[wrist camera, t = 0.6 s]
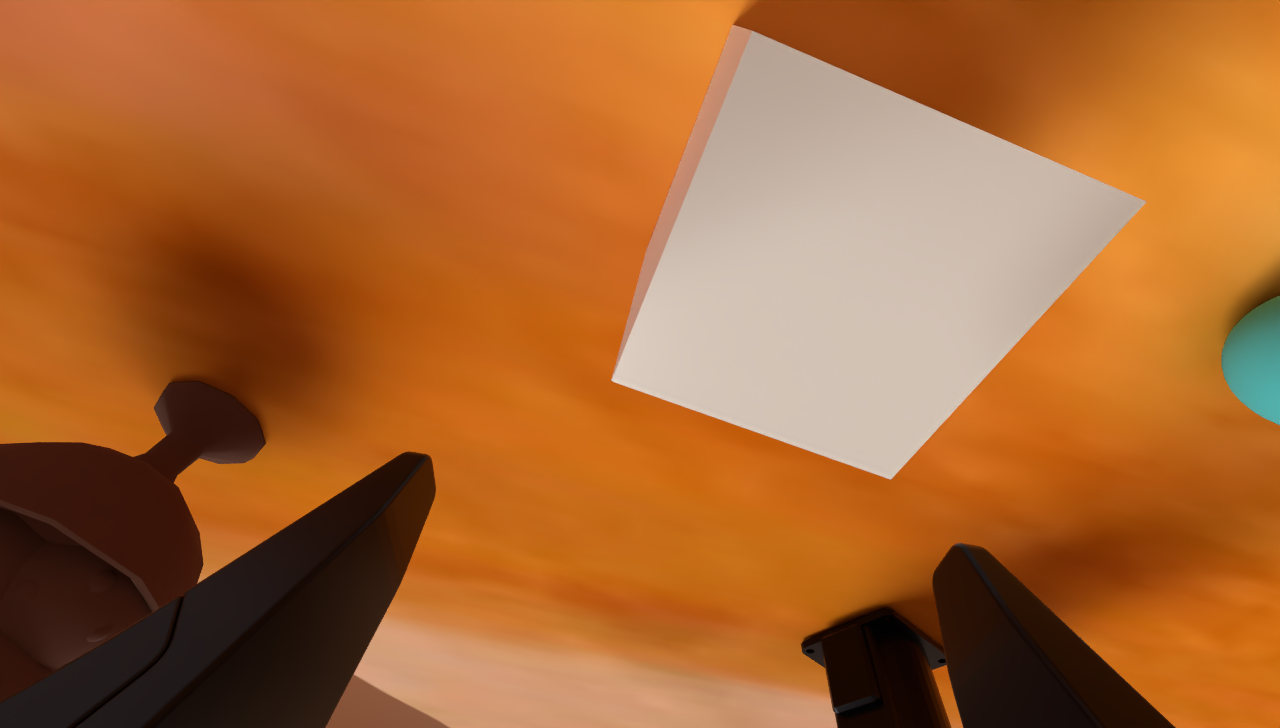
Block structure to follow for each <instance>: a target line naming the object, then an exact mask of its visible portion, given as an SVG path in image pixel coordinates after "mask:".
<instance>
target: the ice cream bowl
mask: <svg viewBox="0 0 1280 728" xmlns="http://www.w3.org/2000/svg"><path fill="white" fill-rule="evenodd" d="M154 410H155V412H156V414H157V416H158V418H159V421H160V423H161V425H162V427H163V429H164V431H165V433H166V435H167V436H166V437H165V438H163V439H162V440H161V441H160V442H159V443H157V444H156V445H155V446H154V447H153V448H151V449H150V450H149V451H148V452H146V453H145V454H141V455H138V456H135V457H131V456H128V455H126V454H123V453H121V452H118V451H116V450H113V449H110V448H106V447H101V446H96V445H91V444H86V443H72V442H36V443H13V444H0V701H1V700H3V699H5V698H7V697H9V696H10V695H12V694H14V693H16V692H18V691H19V690H21V689H23V688H25V687H27V686H28V685H30V684H32V683H34V682H35V681H37V680H39V679H41V678H43V677H44V676H46V675H48V674H50V673H51V672H53V671H55V670H57V669H58V668H60V667H62V666H64V665H65V664H67V663H69V662H71V661H72V660H74V659H76V658H77V657H79V656H81V655H83V654H84V653H86V652H88V651H90V650H91V649H93V648H95V647H97V646H98V645H100V644H102V643H103V642H105V641H107V640H108V639H110V638H111V637H113V636H115V635H116V634H118V633H120V632H121V631H123V630H124V629H126V628H128V627H129V626H131V625H133V624H134V623H136V622H138V621H139V620H141V619H142V618H144V617H146V616H147V615H149V614H150V613H152V612H154V611H155V610H157V609H158V608H160V607H161V606H163V605H165V604H166V603H168V602H169V601H171V600H172V599H174V598H176V597H177V596H180V595H182V596H184V593H185V592H186V591H187V590H188V589H190V588H192V587H193V586H195V585H196V584H197V582H198V579H199V576H200V573H201V570H202V567H203V557H202V549H201V541H200V533H199V531H198V529H197V526H196V524H195V522H194V520H193V517H192V515H191V513H190V511H189V509H188V506H187V504H186V502H185V500H184V498H183V496H182V494H181V492H180V490H179V487H177V486H176V485H175V484H174V481H175V479H176V477H177V475H178V474H180V473H181V472H182V471H183V470H185V469H186V468H187V467H188V466H190V465H191V464H192V463H193V462H194V461H196V460H197V459H198V458H201V459H204V460H208V461H211V462H214V463H218V464H231V463H245V462H247V461H249V460H251V459H253V458H254V457H255V456H256V455H257V453H258V452H259V451H260V450H261V449H262V447H263V446H264V445H265V441H264V437H263V434H262V431H261V428H260V425H259V422H258V420H257V419H256V418H255V417H254V416H253V415H252V414H251V413H250V412H249V411H248V410H247V409H246V408H245V407H244V406H243V405H242V404H240V403H239V402H238V401H237V400H236V399H235V398H234V397H233V396H232V395H229V394H227V393H225V392H222V391H220V390H218V389H215V388H213V387H211V386H208V385H206V384H203V383H201V382H199V381H191V382H176V383H169V384H168V386H167V387H166V388H165V390H164V391H163V393H162V394H161V396H160V398H159V399H158V401H157V403H156V405H155V406H154Z"/></svg>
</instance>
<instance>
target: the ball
mask: <svg viewBox="0 0 1280 728" xmlns="http://www.w3.org/2000/svg"><path fill="white" fill-rule="evenodd" d="M1222 370H1223V374H1224V377H1225V380H1226V382H1227V383H1228V385H1229V387H1230V389H1231V391H1232V392H1233V393H1234V394H1235V395H1236V397H1237V398H1238V399H1239V400H1240V401H1241V402H1242V403H1243V404H1244V405H1246V406H1247V407H1248V408H1249V409H1251V410H1252V411H1254V412H1255V413H1257V414H1258V415H1260V416H1262V417H1263V418H1265V419H1267V420H1270V421H1272V422H1274V423H1276V424H1278V425H1280V295H1279V296H1277V297H1274V298H1272V299H1270V300H1268V301H1266V302H1265V303H1263V304H1261V305H1259V306H1258V307H1256V308H1255V309H1253V310H1252V311H1250V312H1249V313H1248V314H1247V315H1245V316H1244V317H1243V318H1242V319H1241V320H1240V321H1239V322H1238V323H1237V324H1236V325H1235V326H1234V328H1233V329H1232V330H1231V332H1230V333H1229V335H1228V337H1227V339H1226V341H1225V344H1224V347H1223V350H1222Z"/></svg>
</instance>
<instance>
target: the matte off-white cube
mask: <svg viewBox="0 0 1280 728" xmlns="http://www.w3.org/2000/svg"><path fill="white" fill-rule="evenodd" d="M1145 203H1146V201H1144V200H1142V199H1139V198H1137V197H1135V196H1132V195H1130V194H1128V193H1126V192H1123V191H1121V190H1119V189H1116V188H1114V187H1112V186H1109V185H1107V184H1105V183H1102V182H1100V181H1098V180H1096V179H1093V178H1091V177H1089V176H1086V175H1084V174H1082V173H1079V172H1077V171H1075V170H1072V169H1070V168H1068V167H1066V166H1063V165H1061V164H1059V163H1056V162H1054V161H1052V160H1049V159H1047V158H1045V157H1043V156H1040V155H1038V154H1036V153H1033V152H1031V151H1029V150H1026V149H1024V148H1022V147H1019V146H1017V145H1015V144H1013V143H1010V142H1008V141H1006V140H1003V139H1001V138H999V137H996V136H994V135H992V134H989V133H987V132H985V131H983V130H980V129H978V128H976V127H973V126H971V125H969V124H966V123H964V122H962V121H960V120H957V119H955V118H953V117H950V116H948V115H946V114H943V113H941V112H939V111H936V110H934V109H932V108H930V107H927V106H925V105H923V104H920V103H918V102H916V101H913V100H911V99H909V98H907V97H904V96H902V95H900V94H897V93H895V92H893V91H890V90H888V89H886V88H883V87H881V86H879V85H877V84H874V83H872V82H870V81H867V80H865V79H863V78H860V77H858V76H856V75H853V74H851V73H849V72H847V71H844V70H842V69H840V68H837V67H835V66H833V65H830V64H828V63H826V62H824V61H821V60H819V59H817V58H814V57H812V56H810V55H807V54H805V53H803V52H800V51H798V50H796V49H794V48H791V47H789V46H787V45H784V44H782V43H780V42H777V41H775V40H773V39H770V38H768V37H766V36H764V35H761V34H759V33H757V32H754V31H752V30H749V29H745V28H742V27H739V26H736V25H732V27H731V30H730V33H729V35H728V38H727V40H726V43H725V46H724V48H723V51H722V54H721V56H720V59H719V61H718V64H717V67H716V69H715V72H714V75H713V77H712V80H711V82H710V85H709V88H708V90H707V93H706V95H705V98H704V101H703V103H702V106H701V109H700V111H699V114H698V116H697V119H696V122H695V124H694V127H693V129H692V132H691V135H690V137H689V140H688V143H687V145H686V148H685V150H684V153H683V156H682V158H681V161H680V164H679V166H678V169H677V171H676V174H675V177H674V179H673V182H672V184H671V187H670V190H669V192H668V195H667V198H666V200H665V203H664V205H663V208H662V211H661V213H660V216H659V218H658V221H657V224H656V226H655V229H654V232H653V234H652V237H651V239H650V242H649V245H648V247H647V250H646V254H645V258H644V261H643V265H642V269H641V272H640V276H639V280H638V283H637V287H636V291H635V295H634V298H633V302H632V306H631V309H630V313H629V317H628V321H627V324H626V328H625V332H624V335H623V339H622V343H621V347H620V350H619V354H618V358H617V361H616V365H615V369H614V373H613V376H612V380H611V381H613V382H615V383H618V384H621V385H624V386H627V387H630V388H632V389H635V390H638V391H641V392H644V393H647V394H649V395H652V396H655V397H658V398H661V399H664V400H666V401H669V402H672V403H675V404H678V405H681V406H683V407H686V408H689V409H692V410H695V411H698V412H701V413H703V414H706V415H709V416H712V417H715V418H718V419H720V420H723V421H726V422H729V423H732V424H735V425H737V426H740V427H743V428H746V429H749V430H752V431H754V432H757V433H760V434H763V435H766V436H769V437H771V438H774V439H777V440H780V441H783V442H786V443H788V444H791V445H794V446H797V447H800V448H803V449H806V450H808V451H811V452H814V453H817V454H820V455H823V456H825V457H828V458H831V459H834V460H837V461H840V462H842V463H845V464H848V465H851V466H854V467H857V468H859V469H862V470H865V471H868V472H871V473H874V474H876V475H879V476H882V477H885V478H888V479H892V478H893V477H894V476H895V474H896V473H897V472H898V471H899V470H900V469H901V468H902V467H903V466H904V465H905V464H906V463H907V461H908V460H909V459H910V458H911V457H912V456H913V455H914V454H915V453H916V452H917V451H918V449H919V448H920V447H921V446H922V445H923V444H924V443H925V442H926V441H927V440H928V439H929V438H930V436H931V435H932V434H933V433H934V432H935V431H936V430H937V429H938V428H939V427H940V426H941V424H942V423H943V422H944V421H945V420H946V419H947V418H948V417H949V416H950V415H951V414H952V413H953V411H954V410H955V409H956V408H957V407H958V406H959V405H960V404H961V403H962V402H963V401H964V400H965V398H966V397H967V396H968V395H969V394H970V393H971V392H972V391H973V390H974V389H975V388H976V386H977V385H978V384H979V383H980V382H981V381H982V380H983V379H984V378H985V377H986V376H987V375H988V373H989V372H990V371H991V370H992V369H993V368H994V367H995V366H996V365H997V364H998V363H999V361H1000V360H1001V359H1002V358H1003V357H1004V356H1005V355H1006V354H1007V353H1008V352H1009V351H1010V350H1011V348H1012V347H1013V346H1014V345H1015V344H1016V343H1017V342H1018V341H1019V340H1020V339H1021V338H1022V337H1023V335H1024V334H1025V333H1026V332H1027V331H1028V330H1029V329H1030V328H1031V327H1032V326H1033V325H1034V323H1035V322H1036V321H1037V320H1038V319H1039V318H1040V317H1041V316H1042V315H1043V314H1044V313H1045V312H1046V310H1047V309H1048V308H1049V307H1050V306H1051V305H1052V304H1053V303H1054V302H1055V301H1056V300H1057V299H1058V297H1059V296H1060V295H1061V294H1062V293H1063V292H1064V291H1065V290H1066V289H1067V288H1068V287H1069V285H1070V284H1071V283H1072V282H1073V281H1074V280H1075V279H1076V278H1077V277H1078V276H1079V275H1080V274H1081V272H1082V271H1083V270H1084V269H1085V268H1086V267H1087V266H1088V265H1089V264H1090V263H1091V262H1092V260H1093V259H1094V258H1095V257H1096V256H1097V255H1098V254H1099V253H1100V252H1101V251H1102V250H1103V249H1104V247H1105V246H1106V245H1107V244H1108V243H1109V242H1110V241H1111V240H1112V239H1113V238H1114V237H1115V236H1116V234H1117V233H1118V232H1119V231H1120V230H1121V229H1122V228H1123V227H1124V226H1125V225H1126V224H1127V222H1128V221H1129V220H1130V219H1131V218H1132V217H1133V216H1134V215H1135V214H1136V213H1137V212H1138V211H1139V209H1140V208H1141V207H1142V206H1143V205H1144V204H1145Z"/></svg>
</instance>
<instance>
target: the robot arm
mask: <svg viewBox="0 0 1280 728" xmlns="http://www.w3.org/2000/svg"><path fill="white" fill-rule="evenodd" d="M435 493H436V485H435V478H434V471H433V464H432V459H431V457H430V456H429V455H427V454H422V453H416V452H405V453H402V454H400V455H399V456H397V457H396V458H394V459H393V460H391V461H389V462H388V463H386V464H385V465H383V466H382V467H380V468H378V469H377V470H375V471H374V472H372V473H371V474H369V475H367V476H366V477H364V478H363V479H361V480H360V481H358V482H356V483H355V484H353V485H352V486H350V487H349V488H347V489H345V490H344V491H342V492H341V493H339V494H338V495H336V496H334V497H333V498H331V499H330V500H328V501H327V502H325V503H323V504H322V505H320V506H319V507H317V508H316V509H314V510H312V511H311V512H309V513H308V514H306V515H305V516H303V517H301V518H300V519H298V520H297V521H295V522H294V523H292V524H290V525H289V526H287V527H286V528H284V529H283V530H281V531H280V532H278V533H276V534H275V535H273V536H272V537H270V538H269V539H267V540H265V541H264V542H262V543H261V544H259V545H258V546H256V547H254V548H253V549H251V550H250V551H248V552H247V553H245V554H243V555H242V556H240V557H239V558H237V559H236V560H234V561H232V562H231V563H229V564H228V565H226V566H225V567H223V568H221V569H220V570H218V571H217V572H215V573H214V574H212V575H210V576H209V577H207V578H206V579H204V580H203V581H201V582H199V583H198V584H196V585H195V586H193V587H192V588H190V589H188V590H187V591H186V592H185V593H184V596H182V595H180V596H177V597H176V598H174V599H172V600H171V601H169V602H168V603H166V604H165V605H163V606H161V607H160V608H158V609H157V610H155V611H154V612H152V613H150V614H149V615H147V616H146V617H144V618H142V619H141V620H139V621H138V622H136V623H134V624H133V625H131V626H129V627H128V628H126V629H124V630H123V631H121V632H120V633H118V634H116V635H115V636H113V637H111V638H110V639H108V640H107V641H105V642H103V643H102V644H100V645H98V646H97V647H95V648H93V649H91V650H90V651H88V652H86V653H84V654H83V655H81V656H79V657H77V658H76V659H74V660H72V661H71V662H69V663H67V664H65V665H64V666H62V667H60V668H58V669H57V670H55V671H53V672H51V673H50V674H48V675H46V676H44V677H43V678H41V679H39V680H37V681H35V682H34V683H32V684H30V685H28V686H27V687H25V688H23V689H21V690H19V691H18V692H16V693H14V694H12V695H10V696H9V697H7V698H5V699H3V700H1V701H0V728H325V727H326V725H327V724H328V722H329V720H330V718H331V716H332V714H333V712H334V710H335V708H336V706H337V704H338V703H339V701H340V699H341V697H342V695H343V693H344V691H345V689H346V687H347V685H348V683H349V682H350V680H351V678H352V676H353V674H354V672H355V670H356V668H357V666H358V664H359V663H360V661H361V659H362V657H363V655H364V653H365V651H366V649H367V647H368V645H369V643H370V642H371V640H372V638H373V636H374V634H375V632H376V630H377V628H378V626H379V624H380V622H381V621H382V619H383V617H384V615H385V613H386V611H387V609H388V607H389V605H390V603H391V602H392V600H393V598H394V596H395V594H396V592H397V590H398V588H399V586H400V584H401V581H402V579H403V577H404V574H405V572H406V570H407V567H408V564H409V562H410V559H411V557H412V554H413V552H414V549H415V547H416V544H417V542H418V539H419V537H420V534H421V531H422V529H423V526H424V524H425V521H426V519H427V516H428V514H429V511H430V509H431V506H432V504H433V501H434V498H435ZM933 590H934V596H935V601H936V607H937V613H938V618H939V624H940V630H941V635H942V641H943V646H944V649H943V648H942V647H941V646H940V645H938V644H937V643H936V642H934V641H933V640H932V639H930V638H929V637H928V636H926V635H925V634H924V633H923V632H921V631H920V630H919V629H917V628H916V627H915V626H913V625H912V624H911V623H909V622H908V621H907V620H905V619H904V618H903V617H902V616H900V615H899V614H898V613H896V612H895V611H894V610H892V609H888V608H887V609H881V610H878V611H876V612H874V613H871V614H869V615H866V616H864V617H862V618H859V619H857V620H854V621H852V622H849V623H847V624H845V625H842V626H840V627H837V628H835V629H833V630H830V631H828V632H825V633H823V634H821V635H818V636H816V637H813V638H811V639H809V640H806V641H804V642H802V644H801V647H802V652H803V653H804V654H805V655H806V656H808V657H809V658H811V659H812V660H814V661H815V662H817V663H818V664H820V665H821V666H823V667H824V668H825V669H826V674H827V680H828V686H829V691H830V697H831V702H832V708H833V711H834V712H835V717H836V722H837V728H951V725H950V722H949V719H948V716H947V713H946V710H945V708H944V705H943V702H942V699H941V696H940V693H939V690H938V687H937V684H936V681H935V678H934V675H933V672H932V670H933V669H936V668H939V667H942V666H945V665H947V668H948V673H949V677H950V681H951V685H952V689H953V693H954V696H955V700H956V703H957V707H958V710H959V714H960V717H961V721H962V724H963V728H1175V727H1174V726H1173V725H1172V724H1171V723H1170V722H1169V721H1168V720H1167V719H1166V718H1165V717H1164V716H1163V715H1162V714H1160V713H1159V712H1158V711H1157V710H1156V709H1155V708H1154V707H1153V706H1152V705H1151V704H1150V703H1149V702H1148V701H1147V700H1146V699H1145V698H1143V697H1142V696H1141V695H1140V694H1139V693H1138V692H1137V691H1136V690H1135V689H1134V688H1133V687H1132V686H1131V685H1130V684H1129V683H1128V682H1126V681H1125V680H1124V679H1123V678H1122V677H1121V676H1120V675H1119V674H1118V673H1117V672H1116V671H1115V670H1114V669H1113V668H1112V667H1111V666H1109V665H1108V664H1107V663H1106V662H1105V661H1104V660H1103V659H1102V658H1101V657H1100V656H1099V655H1098V654H1097V653H1096V652H1095V651H1094V650H1092V649H1091V648H1090V647H1089V646H1088V645H1087V644H1086V643H1085V642H1084V641H1083V640H1082V639H1081V638H1080V637H1079V636H1078V635H1076V634H1075V633H1074V632H1073V631H1072V630H1071V629H1070V628H1069V627H1068V626H1067V625H1066V624H1065V623H1064V622H1063V621H1062V620H1061V619H1059V618H1058V617H1057V616H1056V615H1055V614H1054V613H1053V612H1052V611H1051V610H1050V609H1049V608H1048V607H1047V606H1046V605H1045V604H1044V603H1042V602H1041V601H1040V600H1039V599H1038V598H1037V597H1036V596H1035V595H1034V594H1033V593H1032V592H1031V591H1030V590H1029V589H1028V588H1027V587H1025V586H1024V585H1023V584H1022V583H1021V582H1020V581H1019V580H1018V579H1017V578H1016V577H1015V576H1014V575H1013V574H1012V573H1011V572H1010V571H1008V570H1007V569H1006V568H1005V567H1004V566H1003V565H1002V564H1001V563H1000V562H999V561H998V560H997V559H996V558H995V557H994V556H993V555H991V554H990V553H989V552H988V551H987V550H986V549H984V548H982V547H980V546H975V545H969V544H963V543H957V544H955V545H953V546H952V547H951V549H950V550H949V551H948V553H947V554H946V555H945V557H944V558H943V560H942V561H941V562H940V564H939V565H938V567H937V568H936V569H935V571H934V574H933Z"/></svg>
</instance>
